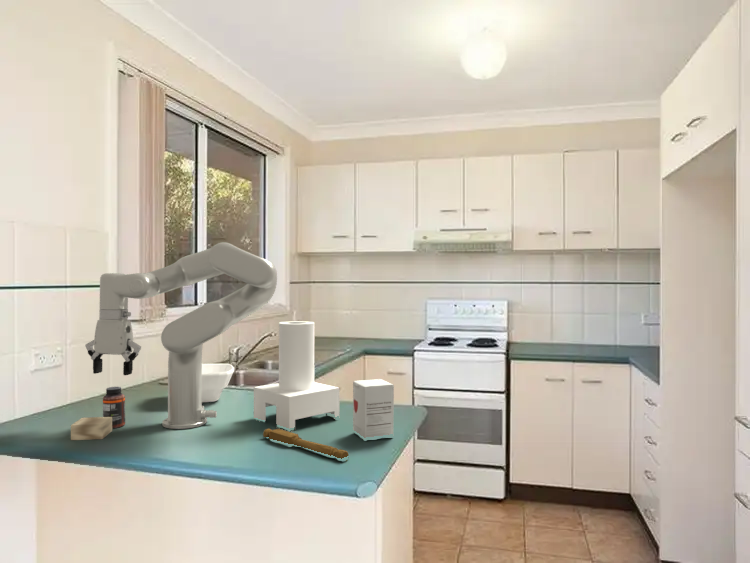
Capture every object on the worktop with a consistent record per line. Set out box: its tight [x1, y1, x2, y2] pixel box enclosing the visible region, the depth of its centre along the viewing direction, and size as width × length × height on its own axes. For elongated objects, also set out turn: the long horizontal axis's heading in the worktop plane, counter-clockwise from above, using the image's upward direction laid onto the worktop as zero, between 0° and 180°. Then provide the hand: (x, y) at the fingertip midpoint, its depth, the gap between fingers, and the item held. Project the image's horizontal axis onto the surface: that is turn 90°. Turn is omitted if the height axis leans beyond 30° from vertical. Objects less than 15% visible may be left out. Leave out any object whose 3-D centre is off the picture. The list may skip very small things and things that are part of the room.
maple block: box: [70, 416, 113, 441], centre depth 152 cm, size 8×8×4 cm
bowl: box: [202, 363, 235, 403], centre depth 194 cm, size 22×22×12 cm
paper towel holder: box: [253, 320, 341, 429], centre depth 170 cm, size 19×19×30 cm
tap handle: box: [262, 428, 349, 459], centre depth 142 cm, size 3×3×30 cm
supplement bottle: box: [102, 386, 126, 429], centre depth 162 cm, size 6×6×11 cm
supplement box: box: [352, 378, 395, 438], centre depth 153 cm, size 9×9×15 cm
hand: (112, 373), depth 162 cm, fingers open, 9 cm apart
